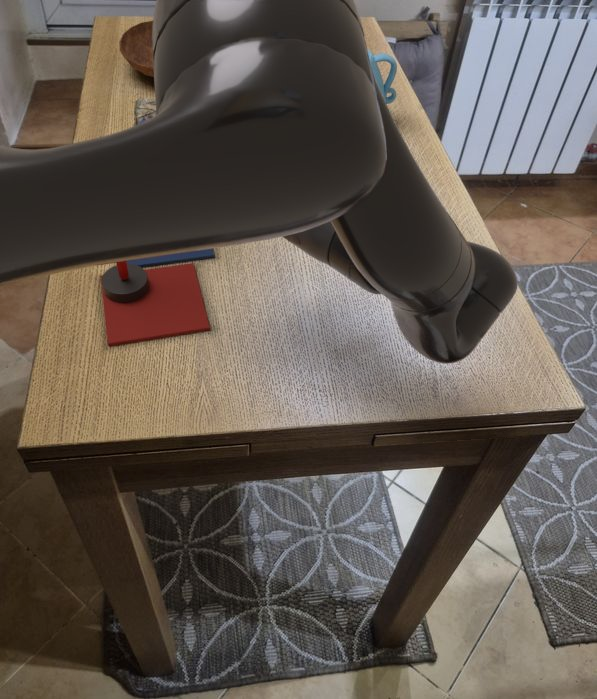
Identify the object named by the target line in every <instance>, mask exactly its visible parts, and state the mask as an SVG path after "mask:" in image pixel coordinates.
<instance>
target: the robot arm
mask: <svg viewBox="0 0 597 699" xmlns="http://www.w3.org/2000/svg"><path fill="white" fill-rule="evenodd" d="M152 21H153V30H152V43H153V68H154V77H153V81H154V98H155V99H154V100H156V116H155V117H153V118H151V119H149V120H147V121H145V122H143V123H141V124H139V125H137V126H134V127H133V126H132V127H128V128H125V129H123V130H119V131H117V132H113V133H111V134H107V135H103V136H100V137H96V138H92V139H88V140H83V141H78V142H73V143H69V144H64V145H60V146H55V147H49V148H37V149H30V148H29V149H27V148H18V147H12V146H7V145H5V144H0V287H2V286H6V285H11V284H16V283H19V282H24V281H29V280H33V279H39V278H42V277H46V276H51V275H57V274H60V273H65V272H69V271H74V270H80V269H84V268H85V269H86V268H91V267H97V266H103V265H109V264H110V265H111V264H116V263H117V262H123V261H130V260H137V259H144V258H151V257H157V256H164V255H171V254H178V253H185V252H192V251H199V250H205V249H218V248H225V247H231V246H237V245H244V244H250V243H256V242H262V241H268V240H272V239H277V238H283V239H285V240H286V241H288V242H289V243H290V244H292V245H293V246H295V247H296V248H298V249H299V250H301V251H303V252H304V253H305V254H307V256H310V257H311V258H313V259H314V260H317V261H319V262H321V263H323V264H325V265H327V266H329V267H330V268H331V269H333V270H335V271H336V272H337V273H339V274H340V275H342V276H344V277H345V278H346V279H348V280H350V281H351V282H353V283H354V284H355V285H357V286H358V287H360V288H361V289H363V290H364V291H366V292H367V293H370V294H372V295H378V296H379V295H382V296H383V297H385V298H386V299H387V300H388V301H389V302H390V305H391V308H392V312H393V316H394V319H395V322H396V325H397V326H398V329H399V331H400V332H401V334H402V336H403V337H404V338H405V340H406V341H407V343H408V344H409V345H410V346H411V347H412V348H413V349H414V350H415V351H416V352H417V353H418V354H420V355H421V356H422V357H424V358H426V359H428V360H430V361H432V362H435V363H438V364H444V365H446V364H455V363H459V362H461V361H463V360H465V359H466V358H468V357H469V356H470V355H471V354H472V353H473V352H474V351H475V349H476V348H477V347H478V345H479V344H480V342H481V341H482V340H483V339H484V338H485V336H486V334H487V333H488V332H489V331H490V330H491V328H492V326H493V325H494V324H495V322H496V321H497V320H498V318H499V317H500V315H501V314H502V313H503V312H504V310H505V309H506V308H507V307H508V306H509V304H510V302H512V299H513V298H514V297H515V295H516V293H517V290H518V286H519V284H518V277H517V274H516V271H515V269H514V267H513V266H512V264H511V263H510V262H509V260H507V259H506V258H505V257H504V256H503V255H502V254H500V253H499V252H498V251H496V250H494V249H493V248H490V247H488V246H485V245H481V244H478V243H475V242H472V241H468V240H467V239H466V238H465V236H464V235H463V233H462V231H461V230H460V228H459V227H458V225H457V224H456V222H455V221H454V220H453V218H452V217H451V215H450V214H449V212H448V211H447V209H446V208H445V205H443V204H442V201H441V199H439V197H438V195H437V193H436V192H435V191H434V189H433V188H432V186H431V184H430V183H429V181H428V179H427V177H426V176H425V174H424V173H423V171H422V169H421V168H420V166H419V164H418V163H417V161H416V159H415V157H414V156H413V153H412V152H411V150H410V148H409V146H408V145H407V143H406V141H405V139H404V137H403V136H402V134H401V131H400V130H399V127H398V126H397V124H396V121H395V119H394V117H393V115H392V113H391V111H390V108H389V107H388V104H386V102H385V100H384V98H383V95H382V93H381V91H380V88H379V86H378V84H377V81H376V79H375V77H374V74H373V71H372V68H371V64H370V60H369V55H368V50H367V49H368V46H367V42H366V38H365V31H364V27H363V24H362V20H361V17H360V15H359V12H358V8H357V5H356V3H355V1H354V0H155V6H154V11H153V20H152Z"/></svg>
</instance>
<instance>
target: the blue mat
mask: <svg viewBox="0 0 597 699" xmlns="http://www.w3.org/2000/svg"><path fill="white" fill-rule="evenodd" d="M213 249H214V248H212V249H205V250H199V251H192V252H185V253H178V254H171V255H164V256H157V257H151V258H144V259H137V260H130V261H126V262H127V264H134V265H137V266H140V267H141V268H143V269H144V268H149V267H156V266H164V265H173V264H180V263H187V262H188V263H189V262H194V261H195V262H196V261H203V260H209V259H215V252H214V250H213Z"/></svg>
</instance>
